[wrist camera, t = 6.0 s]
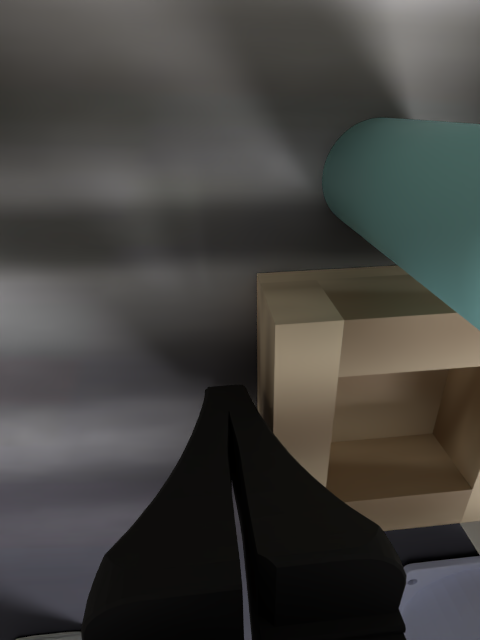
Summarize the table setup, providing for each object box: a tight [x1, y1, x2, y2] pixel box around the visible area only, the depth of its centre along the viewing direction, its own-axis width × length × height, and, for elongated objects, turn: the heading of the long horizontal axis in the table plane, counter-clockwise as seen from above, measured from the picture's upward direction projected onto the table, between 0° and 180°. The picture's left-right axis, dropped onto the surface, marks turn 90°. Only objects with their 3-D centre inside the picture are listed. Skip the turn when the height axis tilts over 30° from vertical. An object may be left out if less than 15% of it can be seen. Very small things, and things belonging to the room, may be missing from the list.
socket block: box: [257, 265, 480, 531], centre depth 14 cm, size 8×8×3 cm
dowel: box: [322, 117, 480, 331], centre depth 9 cm, size 3×3×7 cm
